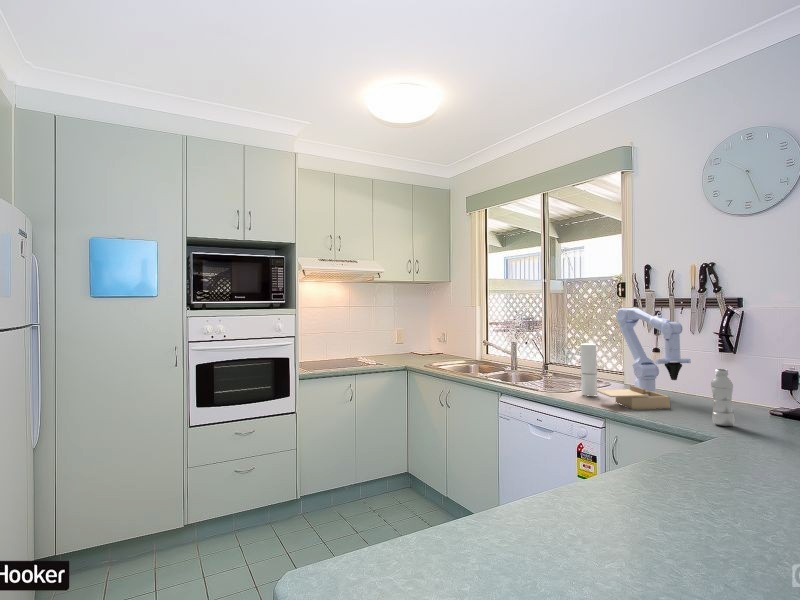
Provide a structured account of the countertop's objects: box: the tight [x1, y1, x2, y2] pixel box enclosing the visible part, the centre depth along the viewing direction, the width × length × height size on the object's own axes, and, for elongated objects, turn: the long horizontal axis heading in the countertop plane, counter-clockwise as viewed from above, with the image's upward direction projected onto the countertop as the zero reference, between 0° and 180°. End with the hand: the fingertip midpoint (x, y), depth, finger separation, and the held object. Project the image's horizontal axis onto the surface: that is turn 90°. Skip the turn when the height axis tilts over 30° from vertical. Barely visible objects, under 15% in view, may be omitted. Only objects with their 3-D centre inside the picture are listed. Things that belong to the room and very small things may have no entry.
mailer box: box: [615, 391, 671, 410], centre depth 198 cm, size 14×16×5 cm
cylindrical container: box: [579, 343, 598, 396], centre depth 223 cm, size 7×7×25 cm
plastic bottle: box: [710, 368, 736, 427], centre depth 163 cm, size 6×7×20 cm
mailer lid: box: [596, 385, 649, 398], centre depth 198 cm, size 14×16×3 cm
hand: (673, 379), depth 201 cm, fingers closed
